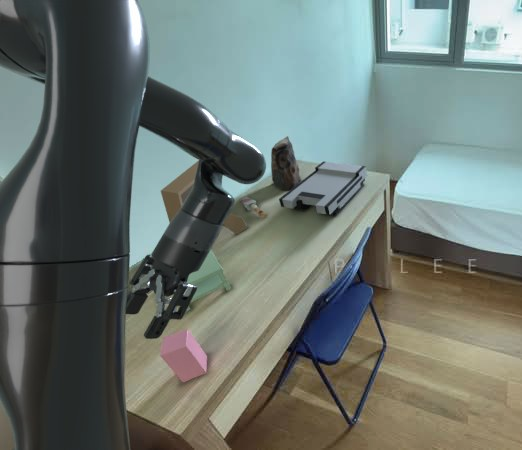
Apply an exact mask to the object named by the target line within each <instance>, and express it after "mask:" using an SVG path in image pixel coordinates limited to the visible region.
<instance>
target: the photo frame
mask: <svg viewBox="0 0 522 450" xmlns="http://www.w3.org/2000/svg"><path fill="white" fill-rule="evenodd" d="M198 162H199V160H197V161H196V162H195V163H193V164H192V165H191V166H190V167H188V168H186V170H185V171H183V172H182V173H181V174H179V175H178V176H177V177H175V178H174V179H173V180H172V181H171V182H170V183H168V184H167V185H166V186H165V187H163V188H162V189H161V190H160V194H161V197H162V201H163V205H164V208H165V212H166V215H167V219H168V222H169V223H170V222H171V220H172V219H173V217H174V216H175V215H176V214H177V213H178V211H179V210H180V209H181V207H182V205H183V203H184V201H185V200H186V198H187V196H188V195H189V193H190V191H191V190H192V187H193V183H194V179H195V175H196V171H197V167H198ZM169 223H168V224H169ZM222 226H224V227H225V228H226V229H228V230H230V231H231V232H233V233H234V234H235V235H238V234H240V233H242V232H244V231H245V230H246V229H248V225H247V224H246V222H245V220H244V219H243V217H242V216H239V215H236V214H233V213H231V212H230V213H229V215H228V216H227V218H226V220H225V222H224V224H223V225H222Z"/></svg>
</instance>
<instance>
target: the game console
mask: <svg viewBox="0 0 522 450" xmlns="http://www.w3.org/2000/svg"><path fill="white" fill-rule="evenodd" d="M314 169H315V170H314V171H313V172H311V173H310V174H309V175H307V177H305V178H304V179H303V180H300V181H301V182H299V183H298V184H297V185H296V186H295V187H294V188H292V189H291V190H289V191H287V192H286V193H284V194H283V195H282V196H280V197H279V198H278V201H279V204H280V207H281V208H288V209H293V210H299V211H308V210H309V209H310V208H311V207H312V206H314V207H315V210H316V213H317V214H322V215H326V216H327V215H328V216H335V217H337V216H338V214H339V213H340V212H342V210H343V209H344V208H345V207H346V205H347V204H348V203H350V201H351V200H352V199H353V198H354V197H355V196H356V195H357V193H358V192H359V191H361V190H362V188H363V187H364V185H365V184H364V182H365V181H366V178H367V177H368V174H367V166H366V165H358V164H348V163H340V162H333V161H332V162H331V161H322V162H320V163H318V165H317V166H315V167H314Z"/></svg>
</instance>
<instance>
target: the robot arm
mask: <svg viewBox="0 0 522 450" xmlns="http://www.w3.org/2000/svg"><path fill="white" fill-rule="evenodd" d="M150 50H151V49H150V35H149V30H148V26H147V21H146V18H145V14H144V12H143V9H142V7H141V5H140V3H139V1H138V0H0V67H1V68H3V69H5V70H6V71H7V70H8V71H9V72H12V73H14V74H17V75H19V76H22V77H24V78H27V79H29V80H32V81H34V82H37V83H39V84H41V85H43V86H44V91H43V103H42V110H41V115H40V119H39V124H38V126H37V129H36V132H35V134H34V136H33V138H32V140H31V142H30V144H29V145H28V147H27V149H26V150H25V152H24V153H23V154H22V155H21V157H20V159H19V160H18V161H17V162H16V164H15V165H14V166H13V167H12V169H11V170H10V171H9V172H8V173H7V174H6V176H5V177H4V178H3V179H2V181H1V182H0V404H1V406H2V408H3V410H4V412H5V414H6V416H7V418H8V421H9V424H10V428H11V431H12V434H13V442H14V448H12V450H131V443H130V442H131V441H130V434H129V423H128V414H127V400H126V320H127V319H126V318H127V317H126V316H127V315H133V316H135V315H138V314H139V313H140V312H141V310H142V308H143V306H144V305H145V302H146V301H147V299H148V297H149V294H150V293H152V292H153V293H154V295H155V297H154V302H155V304H157V306H156V313H155V315H154V316H153V317H152V319H151V321H150V323H149V324H148V326H147V328H146V330H145V331H144V333H143V337H144V338H145V339H146V340H155V339H159V338H160V337H161V336H162V335H163V333H164V331H165V329H166V328H167V326H168V324H169V323H170V320H177V321H178V320H179V321H181V320H182V319H183V317H184V316H185V313H187V312H186V310H187V308H188V306H190V304H191V303H192V302H191V300H192V298H193V296H194V294H195V292H196V290H197V286H196V285H191V284H188V283H187V280H188V277H189V274H191V273H193V272H196V271H198V270H199V269H200V267H201V266H202V264H203V262H204V260H205V259H206V257H207V255H208V253H209V251H210V250H211V251H212V248H213V246H214V244H215V242H216V241H217V238H218V237H219V235H220V232H221V229H222V227H223V226H224V225H223V224H224V222H225V220H226V218H227V216H228V215H229V213H231V211H232V209H233V208H234V205H235V197H234V196H233V195H232V194H231V193H229V192H228V191H227V190H226V189H225V188H224V187H223V176H224V177H226V178H228V179H230V180H232V181H235V182H237V183H238V184H242V185H252V184H256V183H257V182H259V181H260V180H261V179H262V178H263V177H264V175H265V173H266V169H267V161H266V158H265V156H264V153H262V151H261V150H260V149H259V148H257V146H255V145H253V144H252V143H251V142H249V141H247V140H246V139H244V138H243V137H242V136H240V135H239V134H237V133H235V132H234V131H233V130H231V129H230V128H229V127H228V126H227V125H226V124H225V123H224V122H223V121H222V120H221V119H220V118H218V116H217V115H216V114H215V113H213V112H212V111H211V110H210V109H209V108H207V107H206V106H205V105H204V104H202V103H201V102H199V101H197V100H196V99H195V98H193V97H191V96H189V95H188V94H186V93H184V92H182V91H180V90H178V89H175V88H173V87H171V86H170V85H168V84H165V83H163V82H161V81H159V80H157V79H155V78H153V77H151V76H149V70H150V59H151V58H150V57H151V54H150V53H151V51H150ZM140 128H142V129H144V130H146V131H148V132H150V133H151V134H154V135H155V136H157V137H159V138H161V139H163V140H165V141H166V142H168V143H170V144H172V145H173V146H174V147H177V148H178V149H180V150H181V151H183V152H184V153H186V154H188V155H189V156H191V157H192V158H194V159H197V161H199V162H198V167H197V171H196V175H195V179H194V183H193V187H192V190H191V191H190V193H189V195H188V196H187V198H186V200H185V201H184V203H183V205H182V207H181V209H180V210H179V211H178V213H177V214H176V215H175V216H174V217H173V219H172V220H171V222H170V223H168V225H167V226H166V228H165V230H164V232H163V234H162V236H161V237H160V239H159V240H158V242H157V244H156V246H155V247H154V249H153V251H152V252H151V254H146V255H145V257H144V258H143V260H142V262H141V263H140V265H139V266H138V267H137V270H136V271H135V272H134V274H133V276H132V277H131V279H130V263H131V262H130V261H131V260H130V259H131V258H130V257H131V254H130V253H131V240H130V239H131V238H130V237H131V233H130V227H131V226H130V225H131V224H130V223H131V207H132V206H131V205H132V195H133V194H132V192H133V180H134V167H135V156H136V148H137V142H138V136H139V131H140V130H139V129H140ZM143 275H144V276H143ZM141 276H143V277H141ZM129 285H131V286H132V289H131V292H132V293H131V297H130V299H129V301H128V302H127V295H128V290H129ZM173 294H174V295H173ZM166 305H167V307H166ZM178 307H179V308H178Z"/></svg>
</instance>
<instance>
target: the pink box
mask: <svg viewBox="0 0 522 450" xmlns="http://www.w3.org/2000/svg"><path fill="white" fill-rule="evenodd" d="M159 356H160V358H161V359H162V360H163V361H164V362H165V364H166V365H167V366H168V367H169V368H170V369H171V371H172V372H173V373H174V374H175V375H176V376H177V377H178V378H179V381H181V382H182V383H186V382H188V381H190V380H193V379H196V378H198V377H200V376H203V375H205V374H207V368H208V366H207V365H208V355H207V354H206V352H205V351H204V350H203V348H202V347H201V345H200V344H199V342H197V340H196V338H195V337H194V336H193V334H192V333H191V331H190V329H189V328H186V329H184V330H181V331H178V332H174V333H172V334H169V335H166V336H164V337H162V342H161V347H160V353H159Z"/></svg>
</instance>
